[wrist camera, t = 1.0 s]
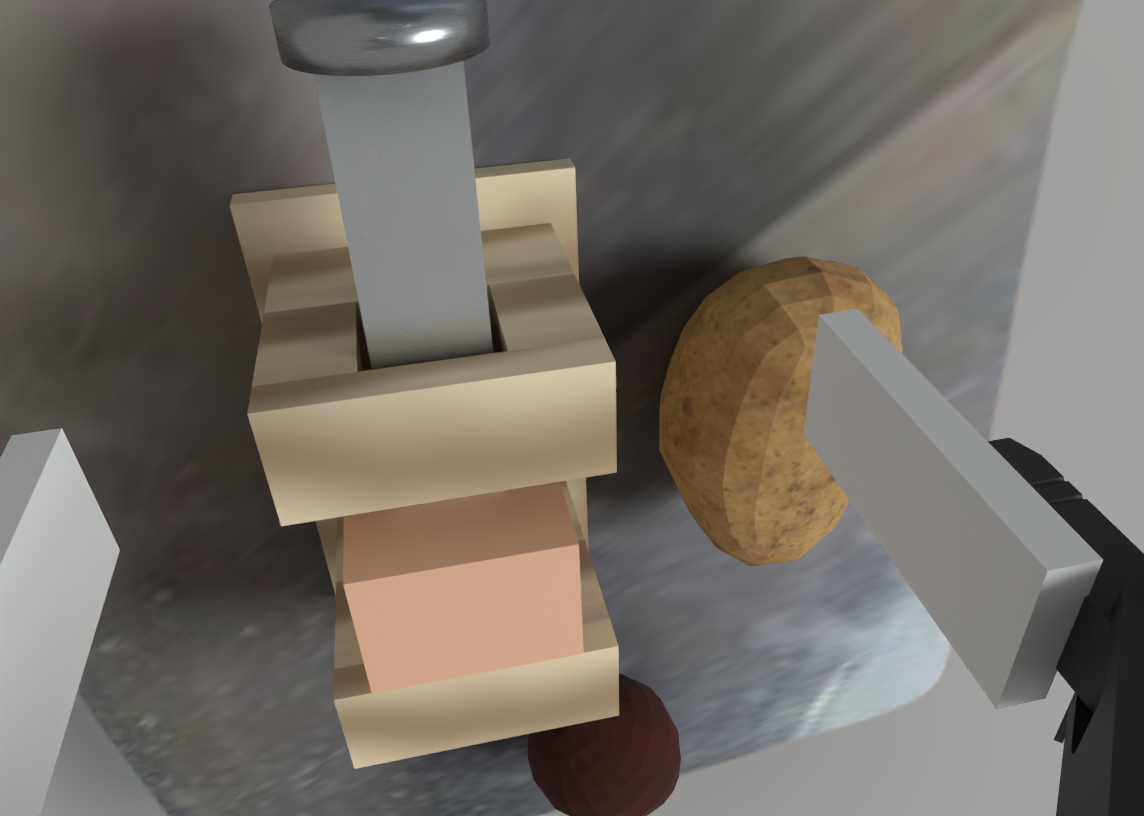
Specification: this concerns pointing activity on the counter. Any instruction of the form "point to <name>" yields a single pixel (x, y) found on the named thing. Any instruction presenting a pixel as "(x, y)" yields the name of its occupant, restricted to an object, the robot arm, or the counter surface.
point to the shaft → (401, 164)
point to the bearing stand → (436, 434)
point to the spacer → (463, 586)
